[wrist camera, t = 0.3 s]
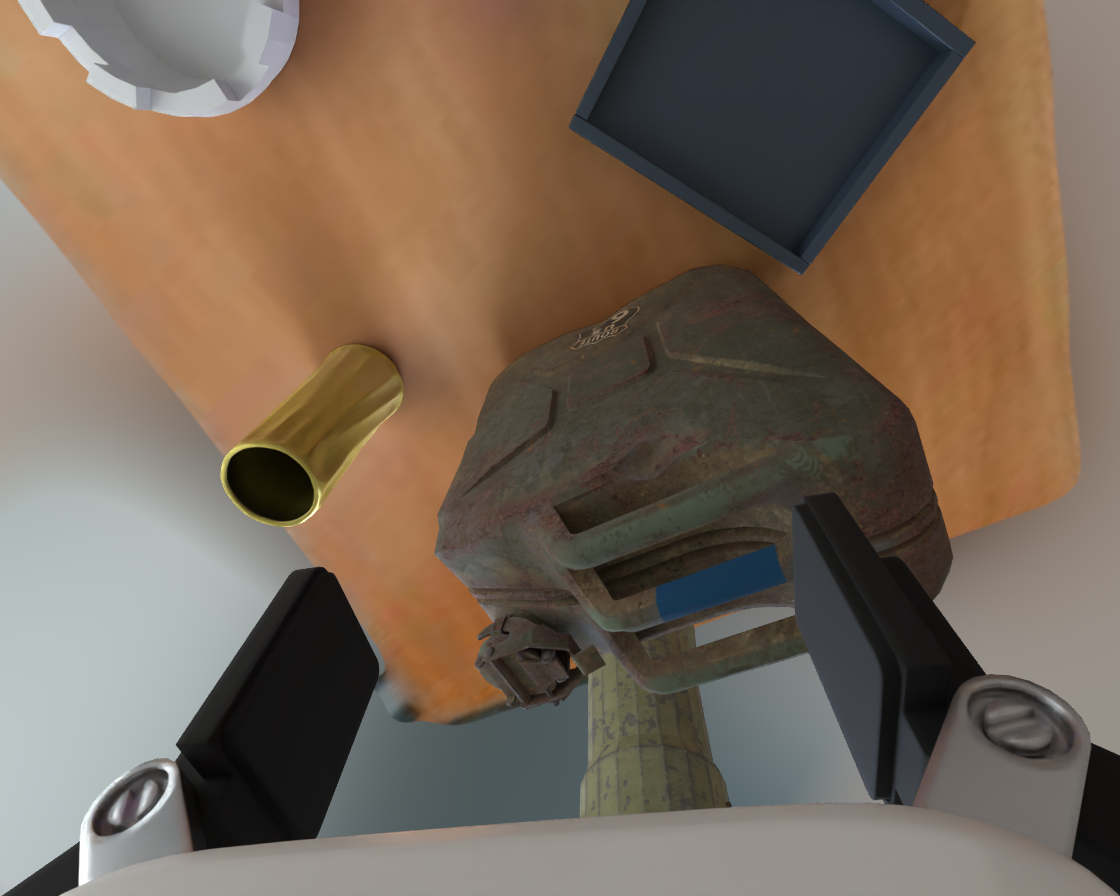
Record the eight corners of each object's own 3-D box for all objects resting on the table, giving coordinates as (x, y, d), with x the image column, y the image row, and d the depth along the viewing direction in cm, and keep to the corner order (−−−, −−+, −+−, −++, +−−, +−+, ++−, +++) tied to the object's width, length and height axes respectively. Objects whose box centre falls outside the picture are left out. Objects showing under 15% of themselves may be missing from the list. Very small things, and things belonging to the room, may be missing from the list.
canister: (734, 243, 37) (941, 401, 15) (776, 355, 41) (996, 616, 19) (484, 370, 42) (369, 628, 20) (540, 460, 46) (495, 767, 24)
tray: (704, -148, 29) (712, -167, 27) (955, 47, 32) (976, 42, 30) (569, 127, 35) (568, 127, 33) (792, 269, 38) (802, 275, 36)
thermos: (714, 608, 52) (896, 1301, 21) (590, 641, 55) (591, 1302, 24) (684, 532, 48) (850, 1240, 17) (552, 572, 51) (494, 1248, 20)
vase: (365, 435, 45) (279, 551, 33) (304, 375, 43) (186, 476, 30) (421, 390, 43) (352, 496, 31) (359, 326, 41) (258, 411, 28)
